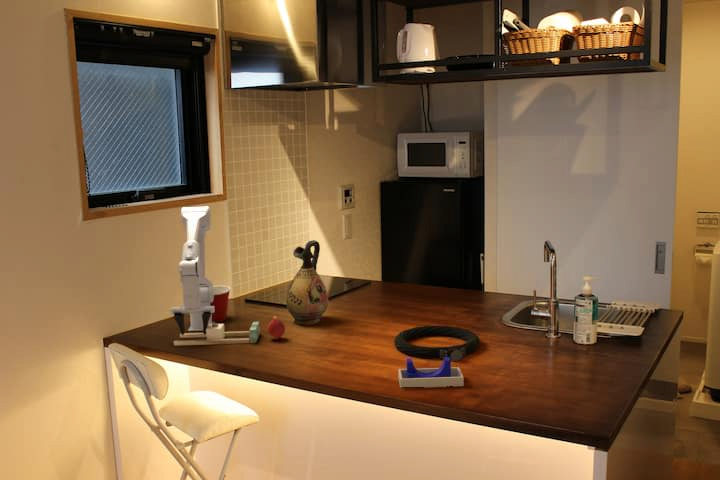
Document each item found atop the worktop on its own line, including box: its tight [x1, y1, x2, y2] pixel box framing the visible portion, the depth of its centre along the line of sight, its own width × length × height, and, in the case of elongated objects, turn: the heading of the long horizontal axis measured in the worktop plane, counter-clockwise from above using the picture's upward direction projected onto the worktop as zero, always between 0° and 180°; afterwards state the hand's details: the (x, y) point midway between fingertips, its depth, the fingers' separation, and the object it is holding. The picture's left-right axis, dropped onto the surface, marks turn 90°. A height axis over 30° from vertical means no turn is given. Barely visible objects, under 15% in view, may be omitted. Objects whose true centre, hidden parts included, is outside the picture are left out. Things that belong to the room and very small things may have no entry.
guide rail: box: [173, 321, 261, 346], centre depth 243 cm, size 10×27×4 cm, turn 91°
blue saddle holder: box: [406, 357, 452, 379], centre depth 198 cm, size 12×4×6 cm, turn 91°
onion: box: [267, 316, 286, 341], centre depth 241 cm, size 6×6×8 cm
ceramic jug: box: [285, 239, 329, 326], centre depth 261 cm, size 17×15×30 cm
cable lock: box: [393, 325, 481, 362], centre depth 228 cm, size 28×4×30 cm
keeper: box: [206, 322, 226, 340], centre depth 243 cm, size 6×5×5 cm
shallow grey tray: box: [397, 366, 465, 389], centre depth 197 cm, size 8×17×2 cm, turn 91°
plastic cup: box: [210, 285, 232, 322], centre depth 268 cm, size 11×11×12 cm
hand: (194, 333), depth 243 cm, fingers open, 7 cm apart
